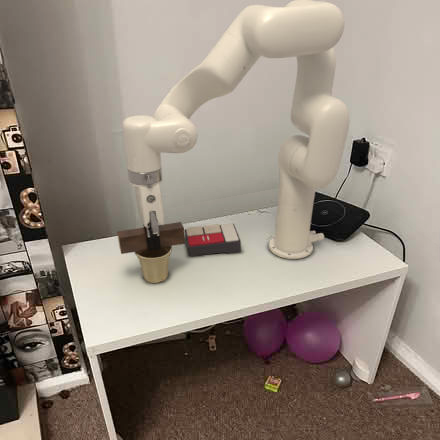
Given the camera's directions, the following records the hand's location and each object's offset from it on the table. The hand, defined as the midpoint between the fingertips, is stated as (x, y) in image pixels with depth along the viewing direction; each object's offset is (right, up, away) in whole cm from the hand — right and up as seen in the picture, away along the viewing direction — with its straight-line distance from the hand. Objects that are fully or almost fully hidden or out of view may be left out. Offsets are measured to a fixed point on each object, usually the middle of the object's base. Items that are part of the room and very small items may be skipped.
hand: (152, 244), depth 109 cm
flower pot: (0, -8, +6) cm, 10 cm away
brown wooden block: (0, 0, 0) cm, 0 cm away
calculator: (+15, +2, +19) cm, 24 cm away
